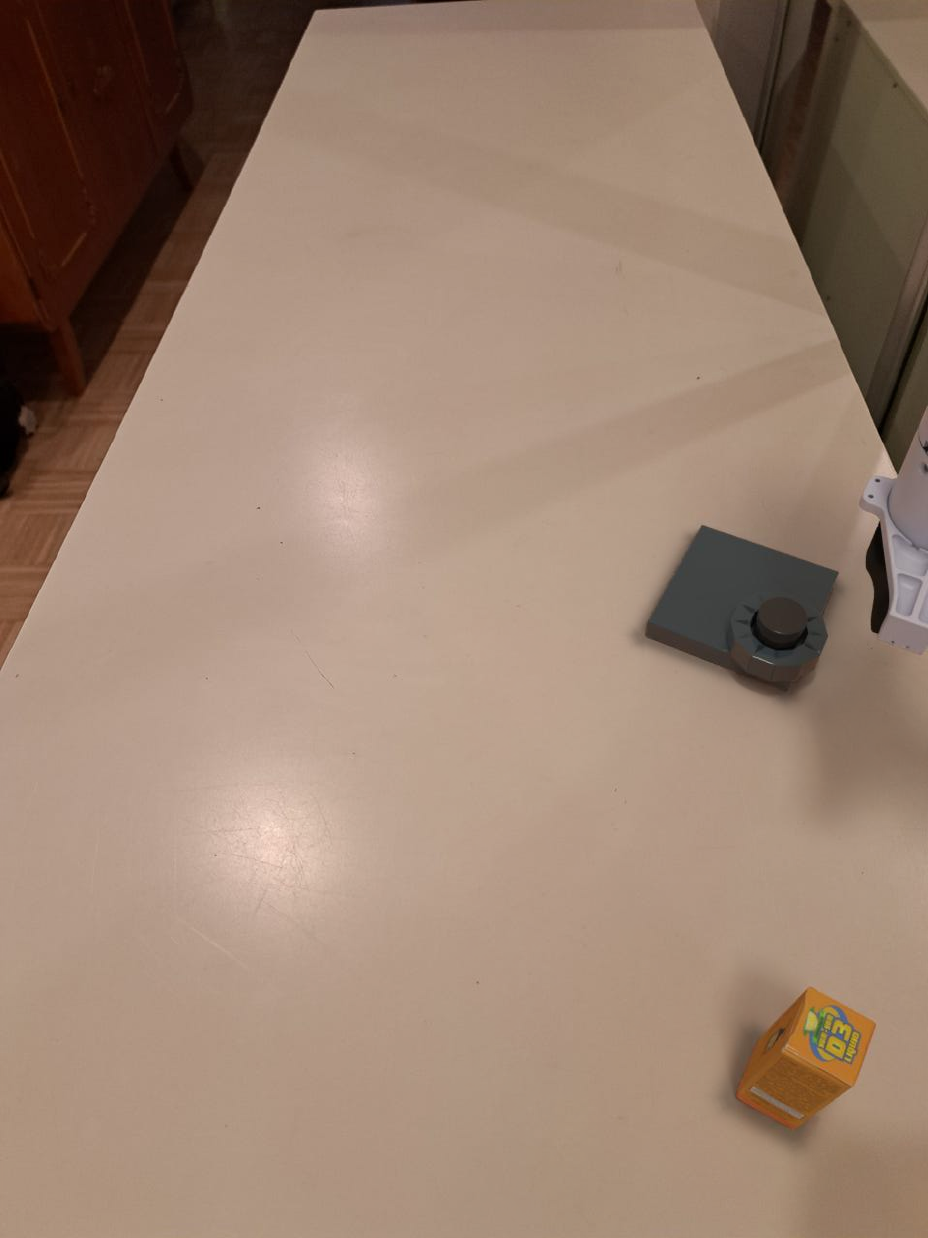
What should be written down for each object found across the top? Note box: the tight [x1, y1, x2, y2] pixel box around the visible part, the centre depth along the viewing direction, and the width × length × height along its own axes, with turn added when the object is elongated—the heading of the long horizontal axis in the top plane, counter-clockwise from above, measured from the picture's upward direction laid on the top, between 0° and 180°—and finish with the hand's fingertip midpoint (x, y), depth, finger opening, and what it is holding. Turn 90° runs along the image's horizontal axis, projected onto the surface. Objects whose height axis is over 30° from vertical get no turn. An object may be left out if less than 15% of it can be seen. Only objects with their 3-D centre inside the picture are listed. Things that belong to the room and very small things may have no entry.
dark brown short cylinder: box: [754, 597, 808, 650], centre depth 61 cm, size 3×3×2 cm
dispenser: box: [645, 524, 840, 693], centre depth 65 cm, size 11×11×4 cm
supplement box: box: [735, 986, 877, 1131], centre depth 44 cm, size 3×3×10 cm
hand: (892, 629), depth 52 cm, fingers closed
